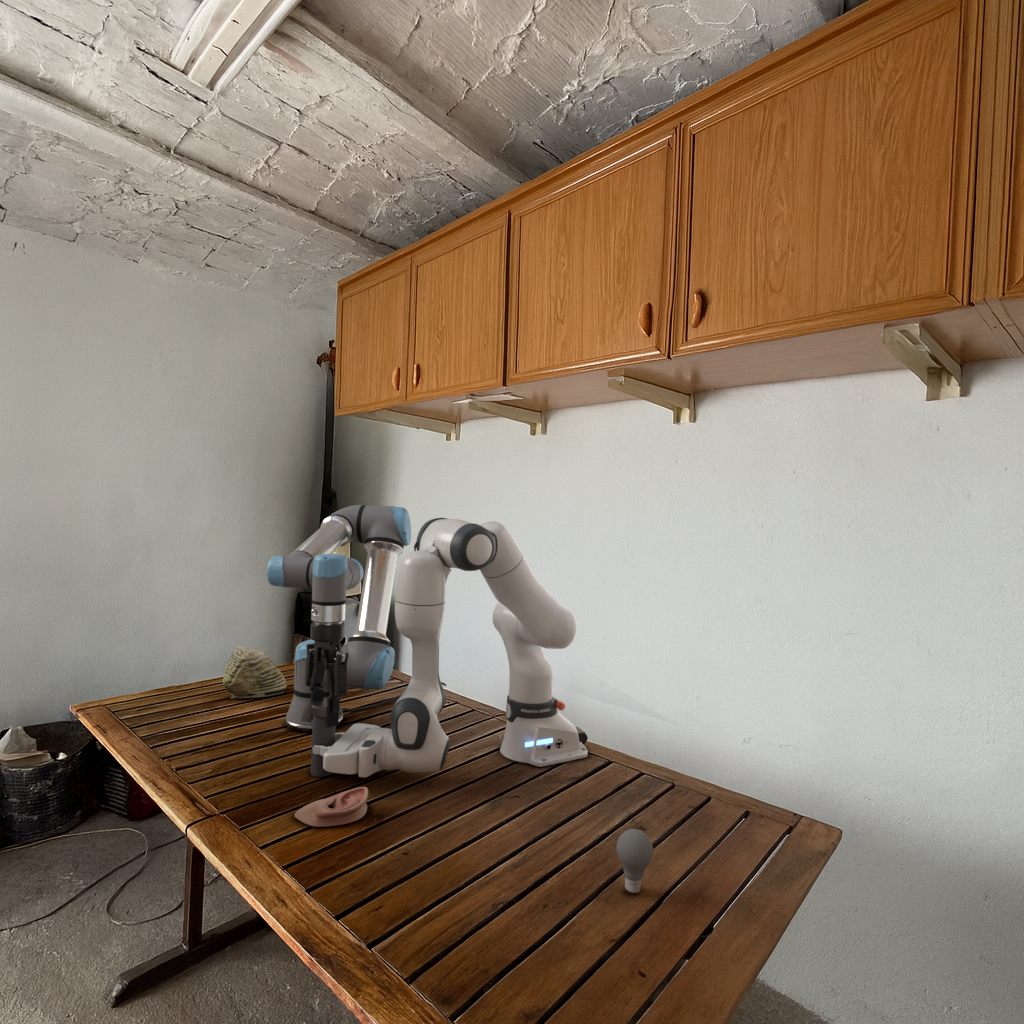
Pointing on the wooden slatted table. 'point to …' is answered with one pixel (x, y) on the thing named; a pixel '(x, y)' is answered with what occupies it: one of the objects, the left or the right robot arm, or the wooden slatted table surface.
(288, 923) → the wooden slatted table surface
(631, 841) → the light bulb
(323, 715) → the lid
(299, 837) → the wooden slatted table surface
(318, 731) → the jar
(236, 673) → the fossil
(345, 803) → the anatomical model
